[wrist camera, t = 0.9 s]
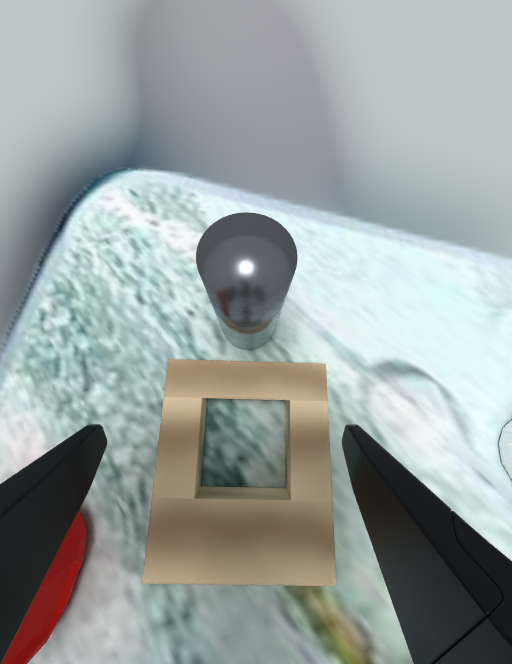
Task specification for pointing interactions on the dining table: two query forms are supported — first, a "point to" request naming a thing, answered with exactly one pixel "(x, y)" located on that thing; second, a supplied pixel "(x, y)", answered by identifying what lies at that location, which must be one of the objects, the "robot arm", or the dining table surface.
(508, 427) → the white cup
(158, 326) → the dining table surface
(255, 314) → the pin
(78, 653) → the dining table surface
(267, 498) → the slot board
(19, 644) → the water bottle
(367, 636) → the dining table surface
